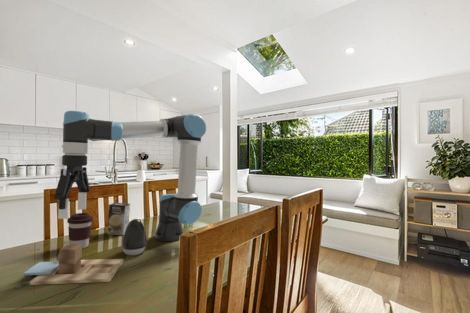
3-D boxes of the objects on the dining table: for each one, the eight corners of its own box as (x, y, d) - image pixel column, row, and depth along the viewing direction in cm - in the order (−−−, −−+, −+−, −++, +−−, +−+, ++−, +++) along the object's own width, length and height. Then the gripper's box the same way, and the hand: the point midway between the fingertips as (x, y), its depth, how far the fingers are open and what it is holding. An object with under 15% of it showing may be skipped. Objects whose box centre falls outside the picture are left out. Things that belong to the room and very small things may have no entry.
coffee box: (106, 234, 130) (108, 204, 130) (113, 231, 136) (114, 202, 137) (123, 235, 130) (124, 205, 130) (129, 231, 136) (130, 203, 136)
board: (123, 262, 98) (123, 258, 98) (109, 283, 82) (109, 278, 82) (57, 264, 94) (57, 260, 94) (29, 286, 78) (29, 281, 78)
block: (80, 268, 90) (81, 244, 90) (74, 275, 85) (75, 249, 85) (65, 269, 89) (66, 244, 89) (58, 275, 84) (59, 249, 84)
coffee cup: (79, 252, 106) (81, 217, 106) (60, 249, 108) (62, 215, 108) (96, 244, 115) (98, 213, 115) (78, 242, 117) (80, 211, 117)
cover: (68, 259, 94) (68, 251, 94) (49, 274, 82) (50, 265, 82) (45, 259, 93) (45, 251, 93) (23, 275, 81) (23, 265, 81)
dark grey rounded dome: (121, 260, 100) (123, 223, 100) (120, 250, 109) (122, 217, 109) (147, 256, 105) (149, 221, 105) (144, 247, 114) (146, 215, 114)
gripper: (79, 154, 99) (78, 206, 99) (42, 154, 75) (39, 223, 75) (99, 154, 100) (98, 206, 100) (69, 155, 76) (66, 223, 76)
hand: (73, 213), depth 88 cm, fingers open, 13 cm apart
